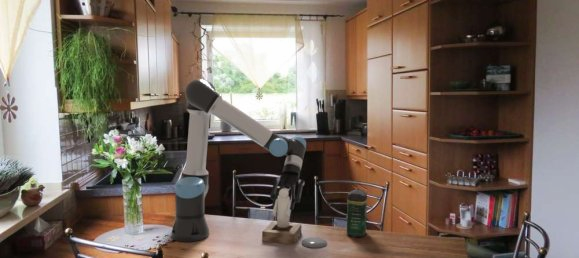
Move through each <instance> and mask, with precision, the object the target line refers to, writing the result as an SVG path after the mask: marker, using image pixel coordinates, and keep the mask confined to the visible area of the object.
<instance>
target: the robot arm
mask: <svg viewBox="0 0 579 258" xmlns="http://www.w3.org/2000/svg"><path fill="white" fill-rule="evenodd" d="M184 96H185V99H186V111H187V112H188V113H189V119H188V131H187V132H188V133H187V134H188V135H187V148H186V157H185V158H186V162H185V168H184V169H183V170H182V171H181V178H179V179H178V180H177V181H176V182H175V184H174V193H175V194H174V198H175V199H174V201H175V202H174V203H175V204H174V205H175V219H174V222H173V225H172V228H171V232H170V233H171V239H173V240H174V241H177V242H181V243H182V242H183V243H190V242H197V241H202V240H204V239H206V238H208V237H209V236H210V228H209V226H208V222H207V220H206V216H205V198H206V196H207V194H208V193H209V188H210V186H209V175H210V174H209V171H208V170H207V169H206V167H207V156H208V155H207V154H208V143H209V130H210V129H209V128H210V119H211V118H210V117H211V115H213V116H214V117H217V118H218V119H220V120H221V121H222V122H224V123H225V124H227V125H228V126H230V127H231V128H233V129H235V130H236V131H238V132H239V133H240V134H242V135H243V136H246V137H247V138H248V139H250V140H252V141H253V142H254V143H256V144H258V145H259V146H261V147H262V148H263V149H265V150H266V151H268V152H269V153H270V154H271V155H273V156H274V157H278V158H279V157H283V156H285V161H284V166H283V168H282V171H281V172H282V174H281V175H280V176H279V177H273V184H272V189H271V190H270V195H269V197H270V201H272V205H271V206H272V216H273V217H276V218H277V204H278V196H279V191H280V190H281V189H283V188H285V189H287V188H290V200H289V204H288V209H287V213H286V216H287V218H289V219H290V216H291V211H294V209H295V204H296V203H298V204H299V203H300V202H301V198H302V193H303V189H304V188H303V187H304V186H305V180H304V179H300V174H301V171H302V166H303V162H304V157H305V153H306V150H307V149H306V148H307V141H306V139H305V138H303V137H302V136H297V135H296V136H292V137H291V138H289V137H285V136H282V135H280V134H278V133H275V132H273V131H272V130H270V129H269V128H267V127H266V126H264V125H263V124H262V123H260V122H259V121H257V120H255V119H254V118H252V117H251V116H249V115H248V114H247V113H245V112H243V111H242V110H240V109H239V108H237V107H236V106H235V105H234V104H232V103H231V102H229V101H227V100H226V99H224V98H223V97H222V94H221V93H220V92H218V91H217V90H216V88H215V86H214V84H213V83H212V82H210V81H208V80H206V79H200V78H197V79H193V80H191V81H189V83H188V84H187V85H186V87H185V89H184ZM280 182H281V183H280ZM279 183H280V185H279ZM297 184H298V187H297V192H296V191H295V189H296V187H295V186H296V185H297ZM278 185H279V186H278ZM278 187H279V188H278ZM295 192H296V193H295Z"/></svg>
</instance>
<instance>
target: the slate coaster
mask: <svg viewBox="0 0 579 258" xmlns="http://www.w3.org/2000/svg"><path fill="white" fill-rule="evenodd" d="M301 245H302V246H304V247H306V248H310V249H319V248H324V247H326V246H327V245H328V242H327V240H326V239H325V238H321V237H312V236H311V237H306V238H305V237H304V238H303V239H302V240H301Z"/></svg>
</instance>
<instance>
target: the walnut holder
mask: <svg viewBox="0 0 579 258" xmlns="http://www.w3.org/2000/svg"><path fill="white" fill-rule="evenodd" d="M261 233H262V234H261V241H262V242H266V243H267V242H269V243H276V244H277V243H278V244H287V245H294V244H295V243H296V242H297V240H298V239H299V237H300V236H301V235H302V224H301V223H293V222H292V223H290V222H289V227H285V228H282V227H278V226H277V221H271V222H270V223H269V224H268V225H267V226H266V227H265V228H264V229H263V230H262V232H261Z"/></svg>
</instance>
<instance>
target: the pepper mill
mask: <svg viewBox="0 0 579 258" xmlns="http://www.w3.org/2000/svg"><path fill="white" fill-rule="evenodd" d="M289 192H290V191H289V190H288V189H287V188H283V189H281V190H280V191H279V196H278V204H277V213H276V222H277V226H278V227H282V228H285V227H289V223H290V217H289V218H287V216H286V213H287V209H288V204H289V200H291V196H290V195H289Z"/></svg>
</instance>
